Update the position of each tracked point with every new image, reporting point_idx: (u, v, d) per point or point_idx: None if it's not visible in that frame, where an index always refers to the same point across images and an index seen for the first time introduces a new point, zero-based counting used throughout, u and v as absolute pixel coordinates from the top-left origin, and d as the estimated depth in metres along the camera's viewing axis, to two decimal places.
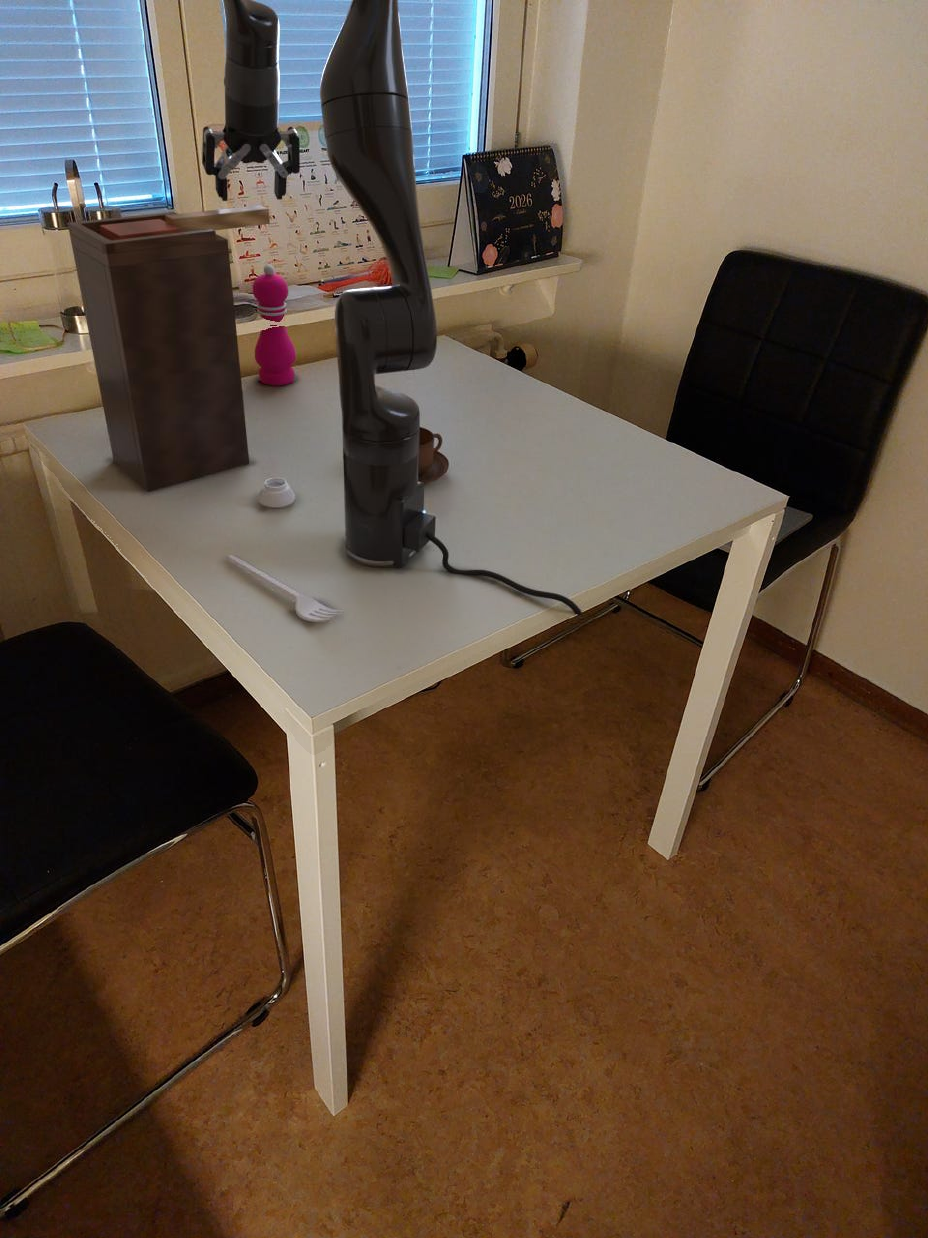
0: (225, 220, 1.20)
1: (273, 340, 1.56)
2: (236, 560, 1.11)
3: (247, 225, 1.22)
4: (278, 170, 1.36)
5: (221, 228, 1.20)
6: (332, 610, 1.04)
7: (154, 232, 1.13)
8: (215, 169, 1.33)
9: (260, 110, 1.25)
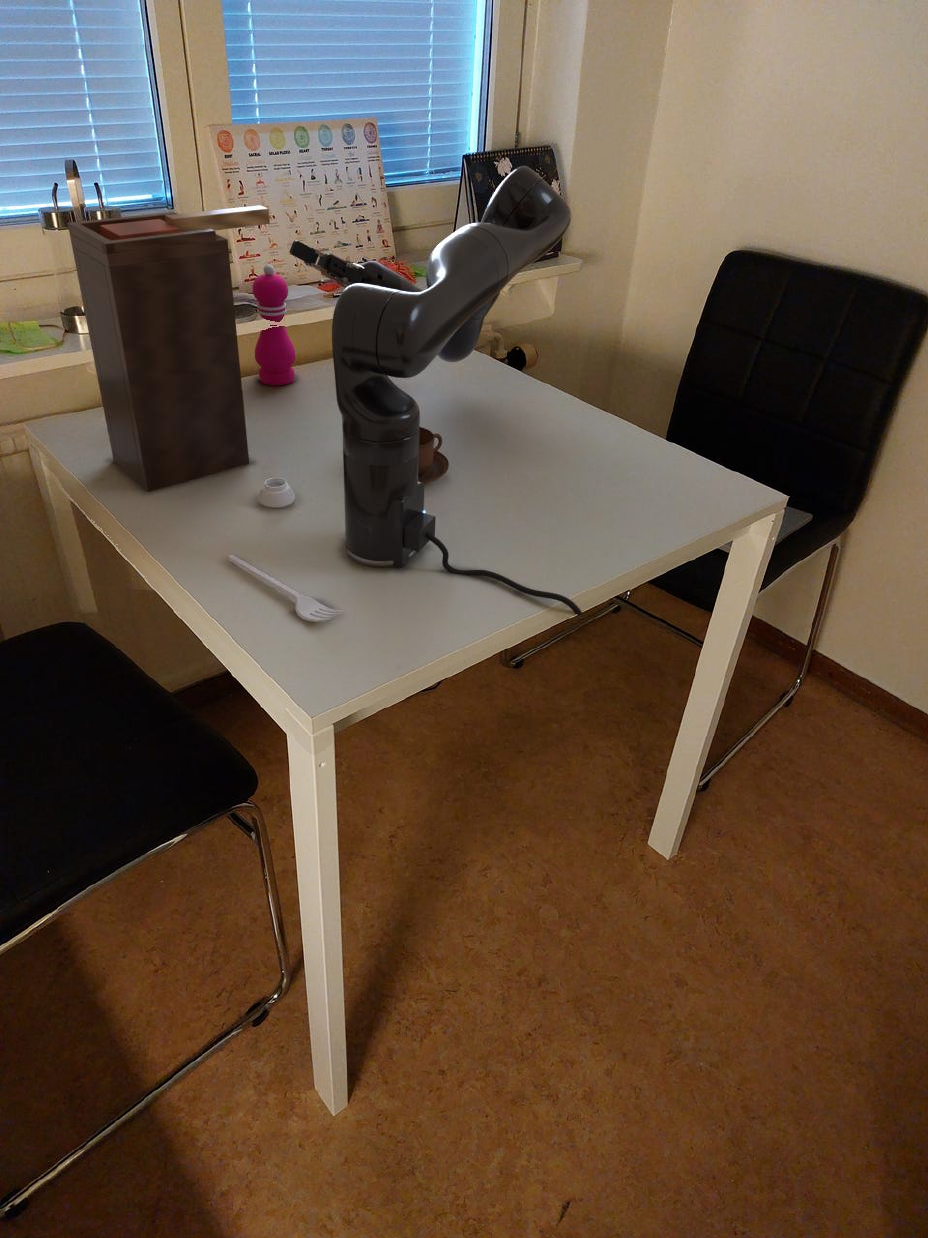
0: (225, 220, 1.20)
1: (272, 340, 1.56)
2: (236, 560, 1.11)
3: (247, 225, 1.22)
4: None
5: (221, 228, 1.20)
6: (332, 610, 1.04)
7: (154, 232, 1.13)
8: None
9: None
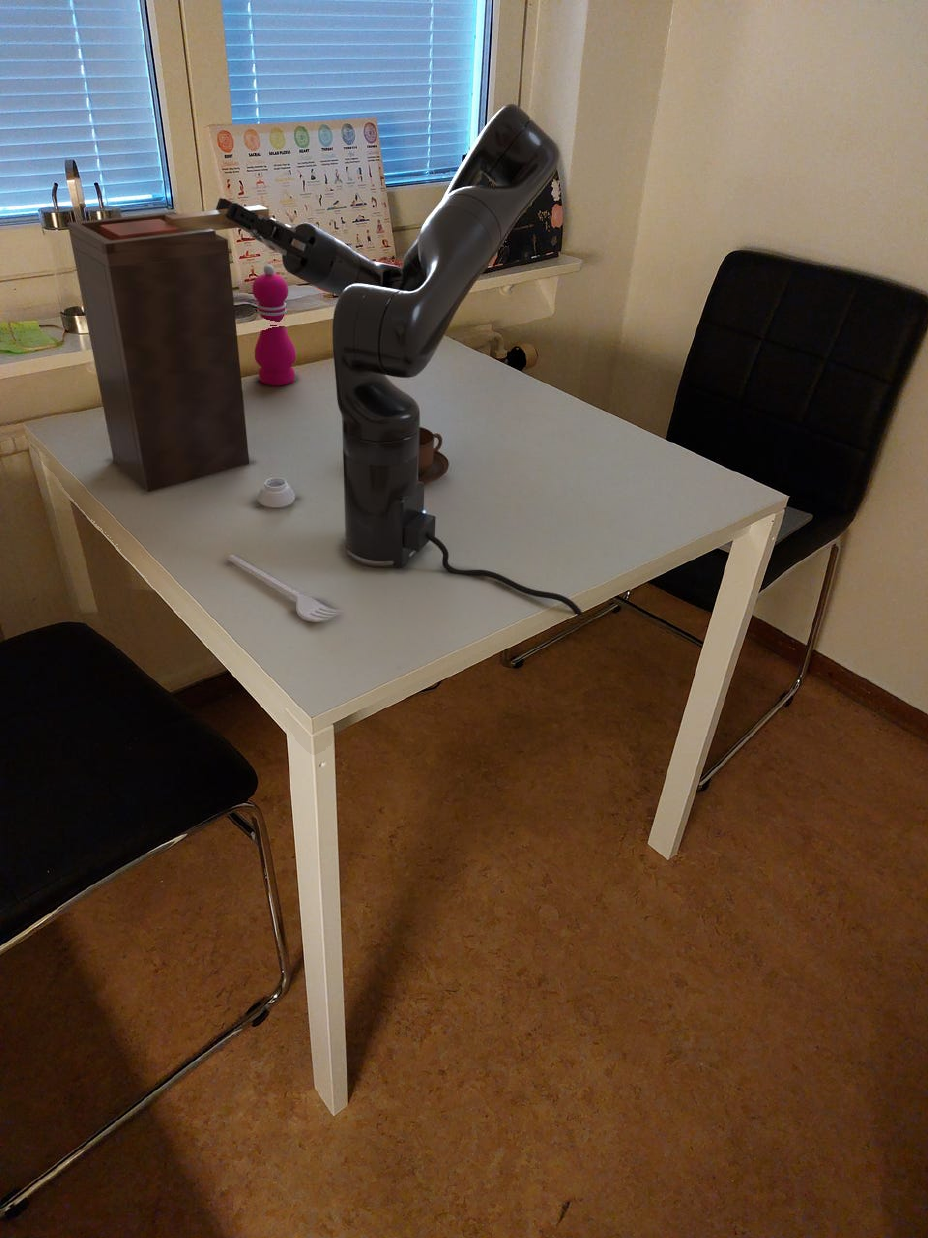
0: (225, 220, 1.20)
1: (272, 340, 1.56)
2: (236, 560, 1.11)
3: None
4: None
5: (221, 228, 1.20)
6: (333, 610, 1.04)
7: (154, 232, 1.13)
8: None
9: (327, 233, 1.31)
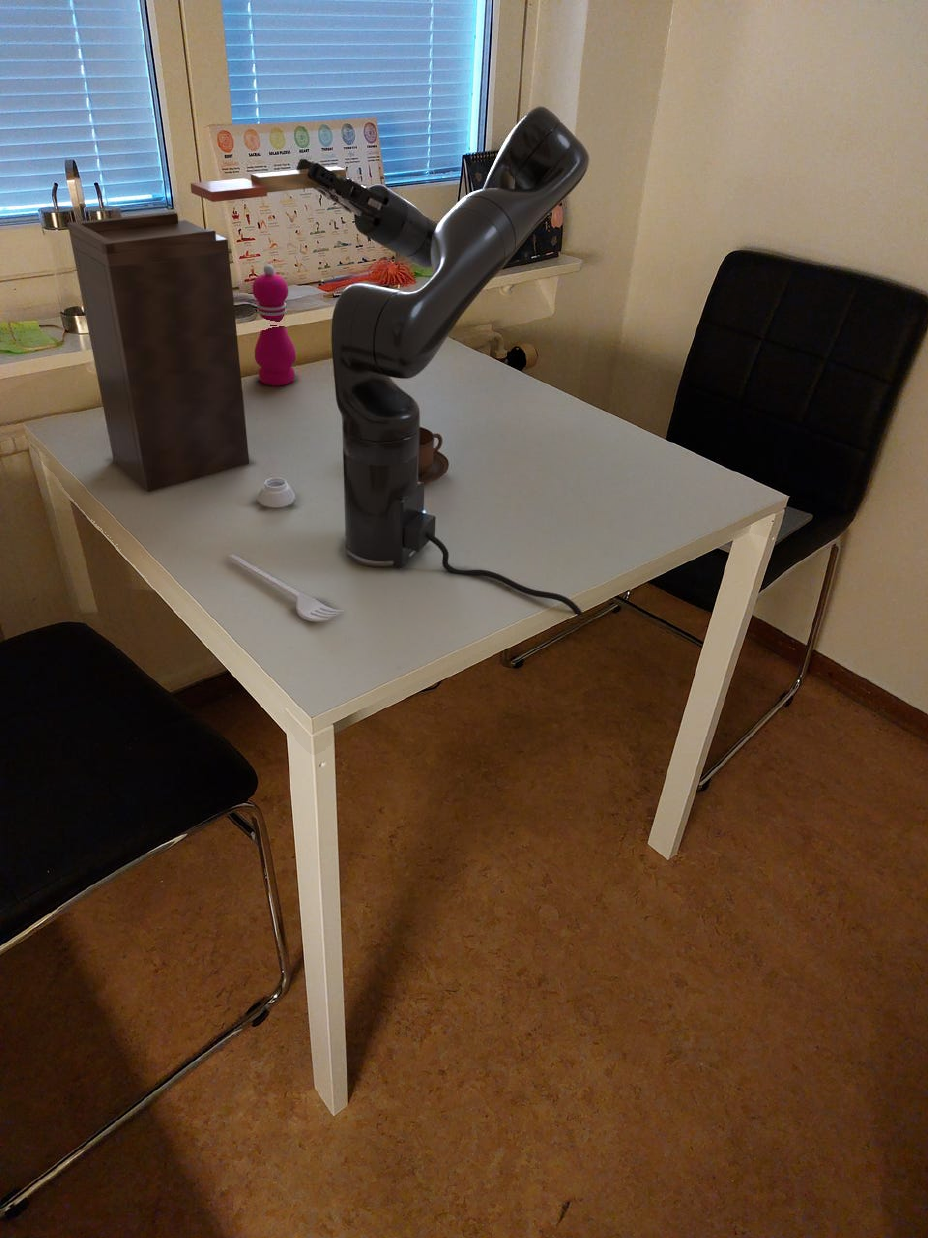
0: (306, 179, 1.24)
1: (272, 340, 1.56)
2: (237, 560, 1.11)
3: None
4: None
5: (302, 187, 1.24)
6: (333, 609, 1.04)
7: (243, 189, 1.17)
8: None
9: None
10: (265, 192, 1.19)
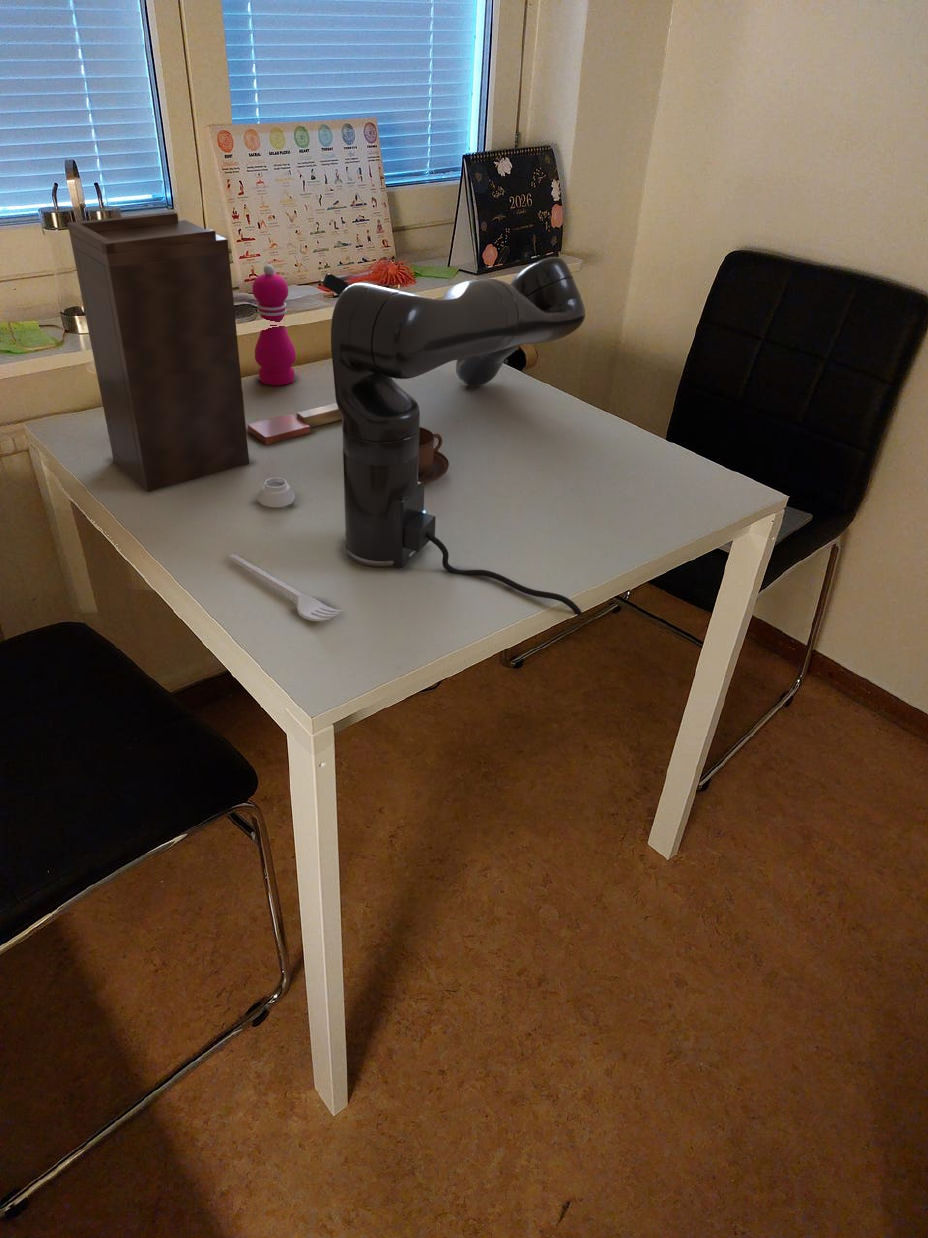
0: None
1: (272, 340, 1.56)
2: (238, 560, 1.11)
3: None
4: None
5: (339, 419, 1.49)
6: (334, 609, 1.04)
7: (291, 431, 1.42)
8: None
9: None
10: (309, 430, 1.44)
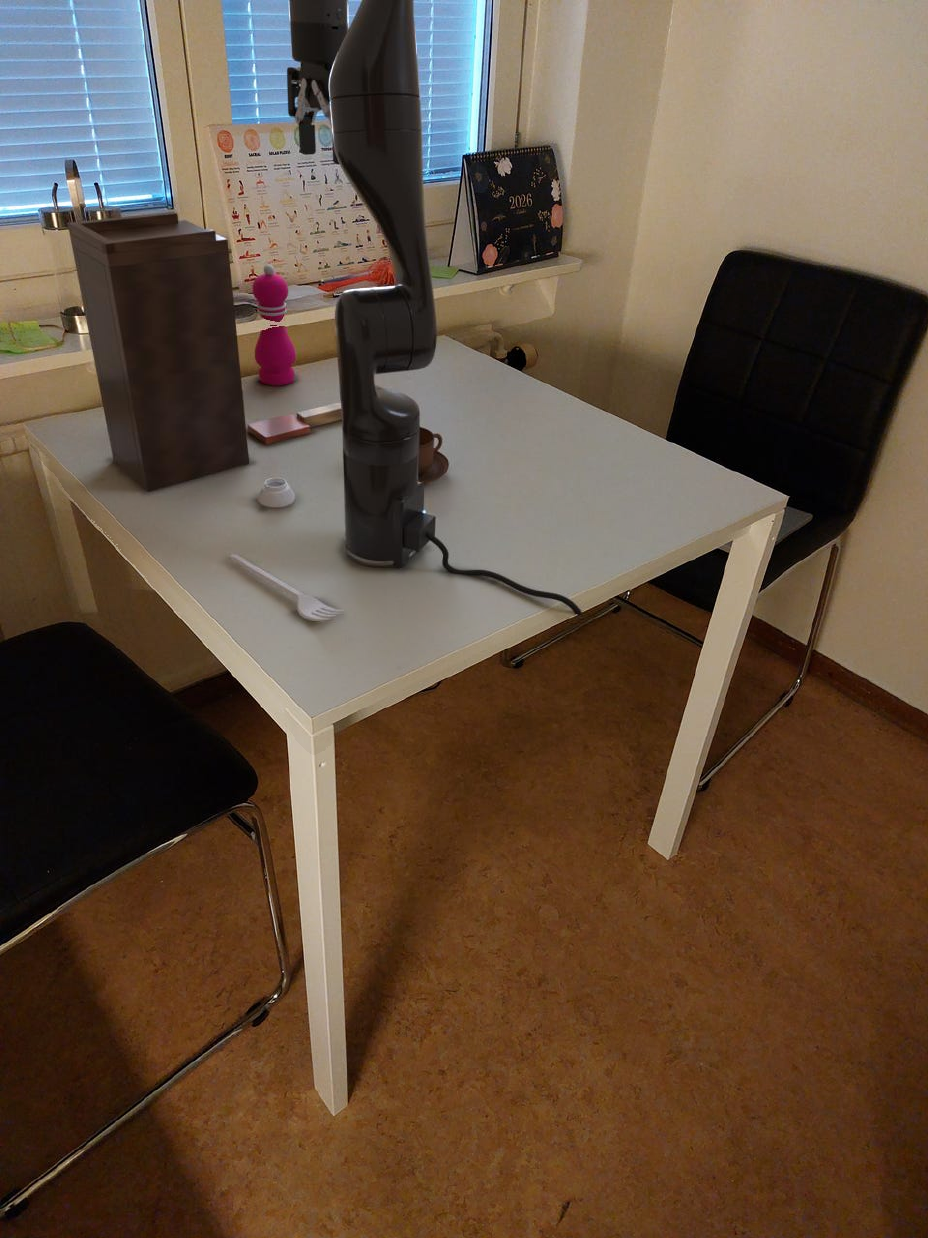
0: None
1: (272, 340, 1.56)
2: (238, 559, 1.11)
3: None
4: (330, 121, 1.19)
5: (339, 419, 1.49)
6: (334, 609, 1.04)
7: (291, 431, 1.42)
8: None
9: (294, 26, 1.13)
10: (309, 430, 1.44)
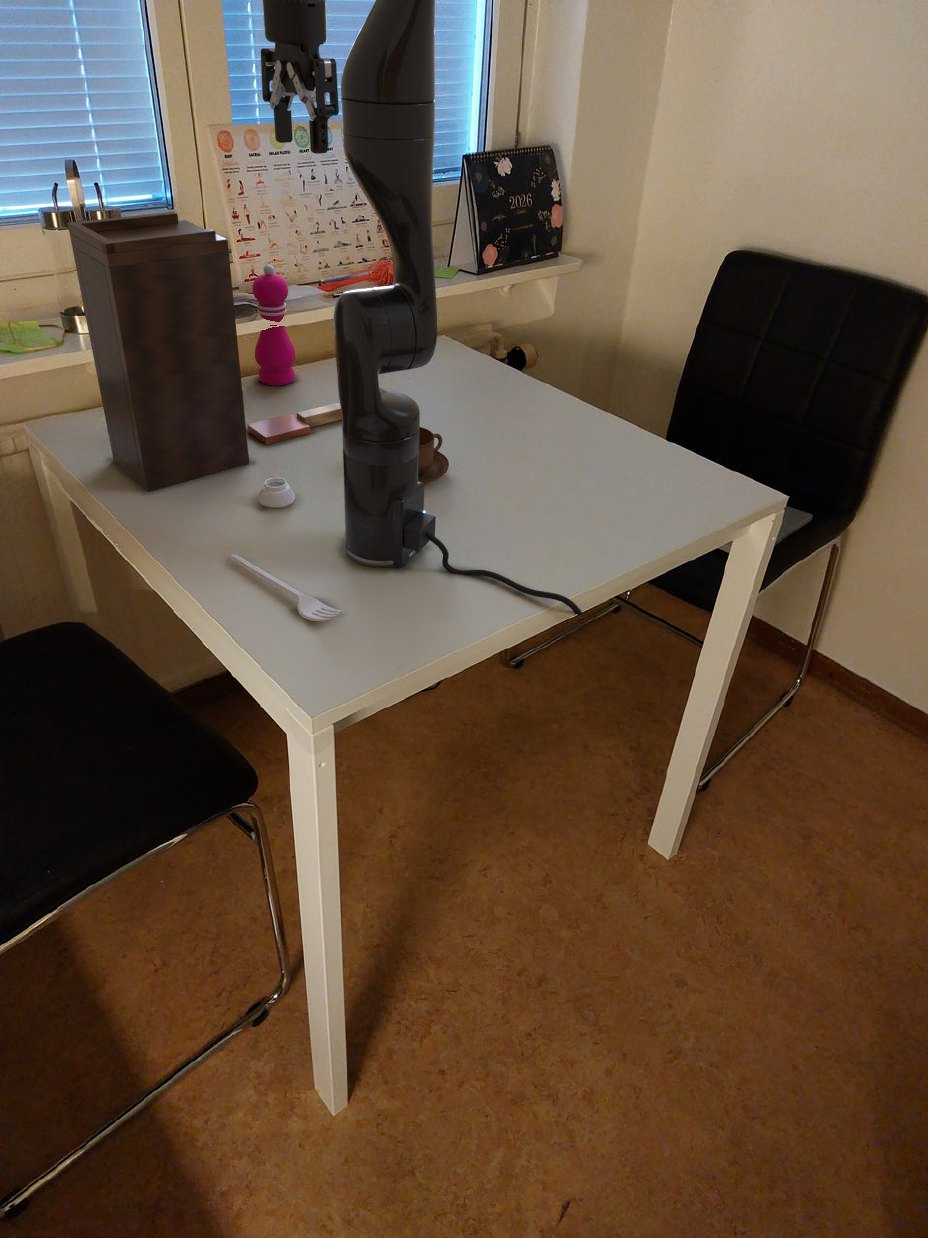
0: None
1: (272, 340, 1.56)
2: (238, 559, 1.11)
3: None
4: (307, 107, 1.10)
5: (339, 419, 1.49)
6: (334, 609, 1.04)
7: (291, 431, 1.42)
8: None
9: (267, 3, 1.05)
10: (309, 430, 1.44)
